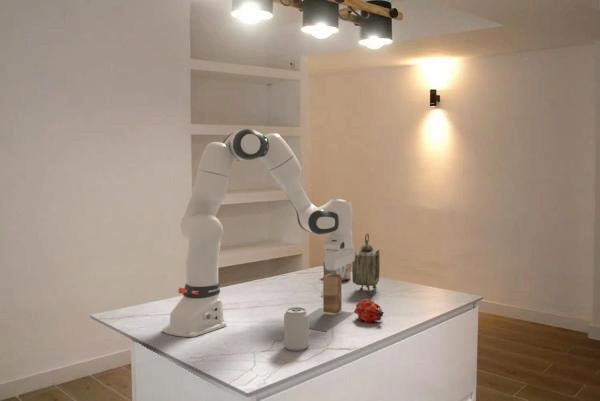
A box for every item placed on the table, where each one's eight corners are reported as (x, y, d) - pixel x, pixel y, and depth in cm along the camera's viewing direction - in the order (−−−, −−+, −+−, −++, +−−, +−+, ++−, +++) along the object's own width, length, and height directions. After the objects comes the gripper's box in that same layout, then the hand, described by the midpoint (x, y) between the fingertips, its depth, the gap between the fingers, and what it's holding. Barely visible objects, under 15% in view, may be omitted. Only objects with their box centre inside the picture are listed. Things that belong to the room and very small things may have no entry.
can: (308, 343, 176) (308, 305, 175) (309, 351, 169) (309, 312, 168) (284, 343, 176) (283, 306, 175) (284, 352, 168) (284, 313, 167)
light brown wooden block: (335, 315, 204) (335, 277, 203) (323, 313, 206) (323, 276, 205) (341, 312, 208) (341, 274, 207) (329, 310, 210) (329, 273, 209)
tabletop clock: (373, 296, 231) (373, 236, 229) (351, 295, 234) (351, 235, 232) (379, 288, 245) (379, 231, 243) (359, 287, 248) (359, 230, 245)
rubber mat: (326, 332, 186) (326, 331, 186) (289, 326, 193) (289, 325, 193) (354, 313, 207) (354, 312, 207) (320, 308, 214) (320, 307, 214)
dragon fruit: (357, 321, 204) (381, 334, 194) (344, 311, 199) (368, 324, 189) (369, 300, 205) (393, 313, 196) (357, 290, 200) (381, 302, 191)
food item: (354, 279, 262) (354, 258, 261) (342, 282, 257) (342, 261, 256) (332, 275, 272) (332, 255, 271) (320, 278, 266) (320, 257, 265)
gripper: (343, 237, 222) (343, 271, 223) (321, 244, 204) (321, 282, 205) (358, 238, 219) (358, 273, 220) (337, 246, 201) (337, 284, 202)
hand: (340, 277), depth 213 cm, fingers closed
